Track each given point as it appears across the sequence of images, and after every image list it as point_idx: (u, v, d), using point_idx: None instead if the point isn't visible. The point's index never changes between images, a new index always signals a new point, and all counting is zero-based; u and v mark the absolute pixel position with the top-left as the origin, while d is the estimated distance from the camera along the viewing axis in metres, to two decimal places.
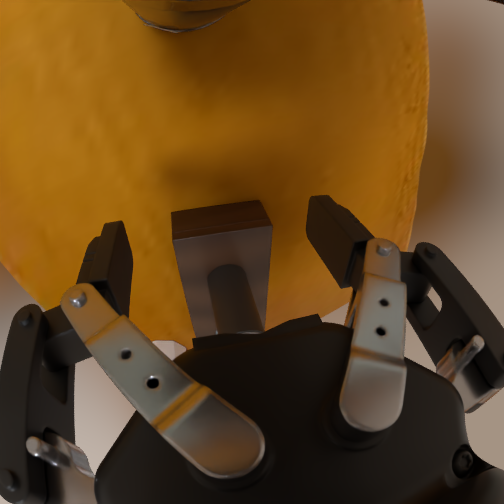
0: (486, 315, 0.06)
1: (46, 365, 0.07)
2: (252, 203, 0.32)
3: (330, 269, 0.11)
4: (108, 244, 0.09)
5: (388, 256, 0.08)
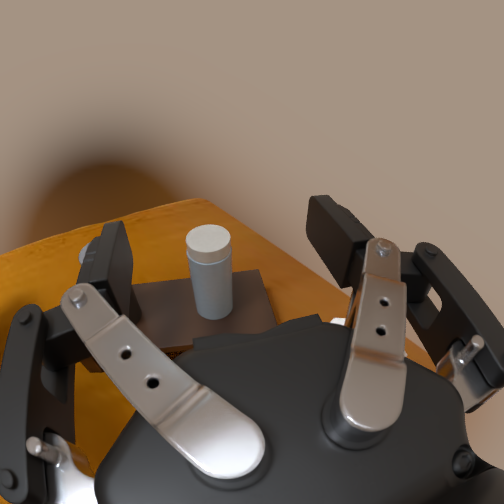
0: (486, 316, 0.06)
1: (46, 365, 0.07)
2: None
3: (330, 269, 0.11)
4: (108, 244, 0.09)
5: (388, 256, 0.08)
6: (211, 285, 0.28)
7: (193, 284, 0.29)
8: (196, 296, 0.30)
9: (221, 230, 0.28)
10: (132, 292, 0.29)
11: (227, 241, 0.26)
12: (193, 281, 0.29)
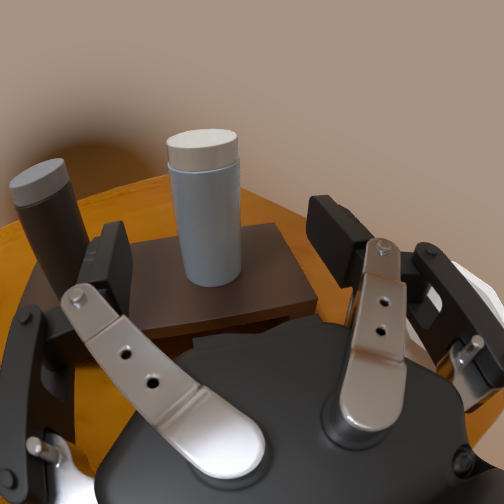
0: (486, 315, 0.06)
1: (46, 365, 0.07)
2: None
3: (330, 269, 0.11)
4: (108, 244, 0.09)
5: (388, 256, 0.08)
6: (207, 217, 0.17)
7: (178, 222, 0.18)
8: (184, 244, 0.18)
9: (223, 131, 0.17)
10: (86, 244, 0.18)
11: (233, 138, 0.15)
12: (178, 215, 0.17)
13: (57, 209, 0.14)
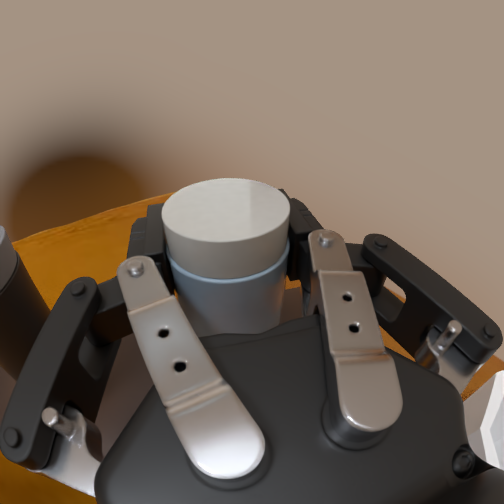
0: (454, 297, 0.07)
1: (89, 338, 0.08)
2: None
3: None
4: (157, 223, 0.10)
5: (329, 247, 0.09)
6: None
7: None
8: None
9: (260, 188, 0.10)
10: None
11: (284, 211, 0.09)
12: None
13: (5, 317, 0.08)
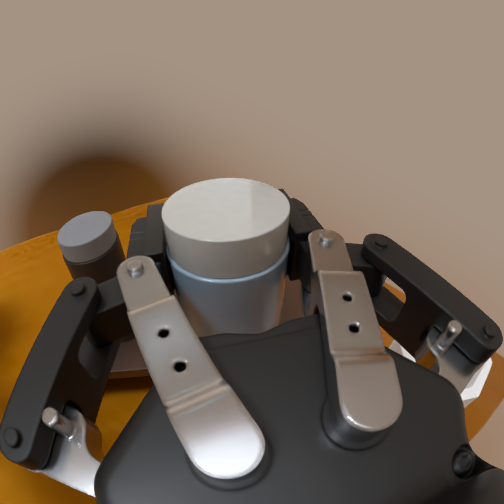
0: (454, 297, 0.07)
1: (89, 338, 0.08)
2: None
3: None
4: (157, 223, 0.10)
5: (329, 247, 0.09)
6: None
7: None
8: None
9: (260, 187, 0.10)
10: None
11: (284, 210, 0.09)
12: None
13: (110, 264, 0.17)
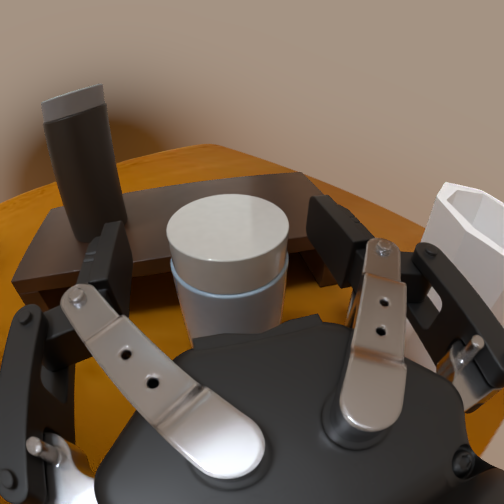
0: (486, 315, 0.06)
1: (46, 365, 0.07)
2: None
3: (330, 269, 0.11)
4: (108, 244, 0.09)
5: (388, 256, 0.08)
6: None
7: None
8: None
9: (260, 205, 0.11)
10: (115, 170, 0.17)
11: (284, 229, 0.09)
12: (192, 335, 0.11)
13: (92, 124, 0.13)
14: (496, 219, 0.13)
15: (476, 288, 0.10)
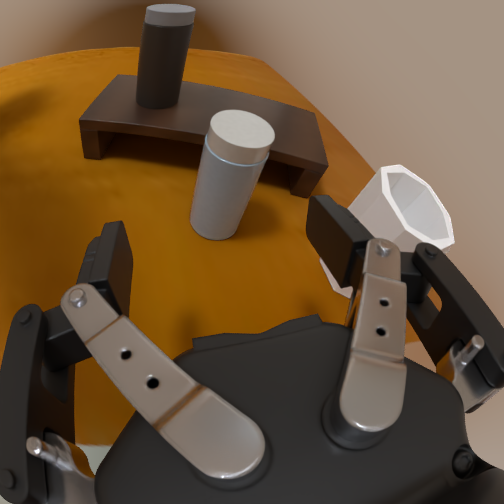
0: (486, 315, 0.06)
1: (46, 365, 0.07)
2: None
3: (330, 269, 0.11)
4: (108, 244, 0.09)
5: (388, 256, 0.08)
6: (223, 194, 0.19)
7: (198, 184, 0.20)
8: (197, 201, 0.21)
9: (264, 125, 0.18)
10: (183, 67, 0.22)
11: (269, 141, 0.17)
12: (199, 180, 0.20)
13: (180, 36, 0.18)
14: (428, 208, 0.21)
15: (377, 231, 0.19)
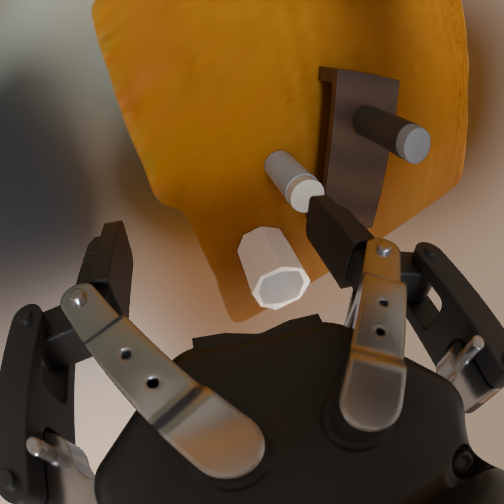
0: (486, 315, 0.06)
1: (46, 365, 0.07)
2: None
3: (330, 269, 0.11)
4: (108, 244, 0.09)
5: (388, 256, 0.08)
6: (277, 181, 0.34)
7: (285, 164, 0.34)
8: (279, 161, 0.35)
9: None
10: None
11: (298, 210, 0.32)
12: (286, 166, 0.34)
13: (392, 151, 0.27)
14: (286, 294, 0.43)
15: (264, 261, 0.39)
